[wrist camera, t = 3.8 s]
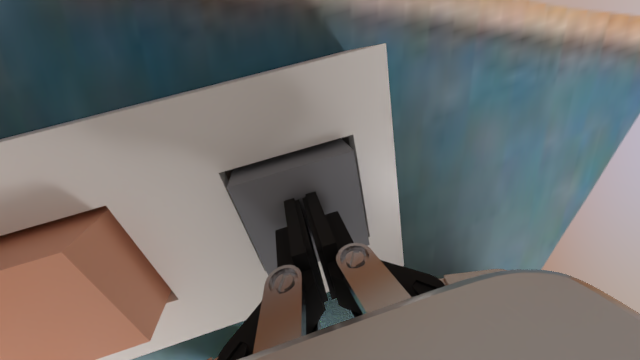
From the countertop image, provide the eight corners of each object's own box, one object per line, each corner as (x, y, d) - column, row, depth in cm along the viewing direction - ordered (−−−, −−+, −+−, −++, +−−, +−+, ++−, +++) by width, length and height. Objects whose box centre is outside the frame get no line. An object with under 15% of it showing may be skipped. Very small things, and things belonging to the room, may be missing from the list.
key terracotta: (119, 199, 12) (61, 252, 9) (177, 277, 15) (149, 341, 12) (-4, 234, 12) (-118, 305, 8) (78, 308, 15) (19, 385, 11)
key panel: (345, 51, 16) (385, 43, 10) (370, 218, 22) (404, 265, 17) (-31, 147, 14) (-215, 197, 9) (116, 299, 20) (64, 382, 15)
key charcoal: (332, 130, 15) (353, 150, 11) (348, 208, 17) (369, 244, 14) (236, 157, 14) (227, 187, 11) (268, 233, 17) (269, 277, 13)
